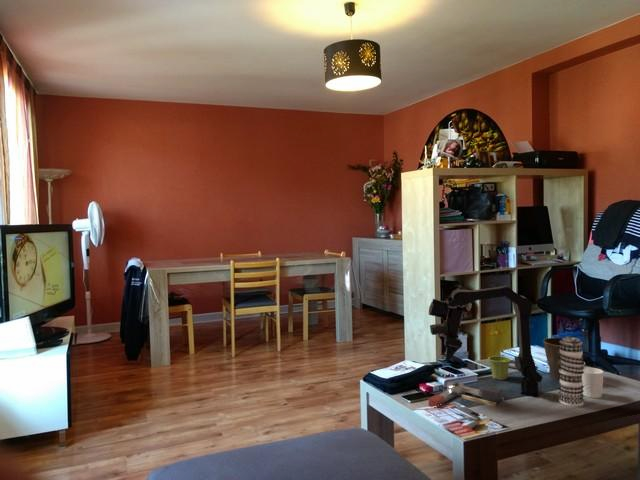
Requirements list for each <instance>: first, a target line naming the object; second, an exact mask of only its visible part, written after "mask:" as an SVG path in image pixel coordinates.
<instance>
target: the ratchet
mask: <svg viewBox="0 0 640 480" xmlns="http://www.w3.org/2000/svg"><path fill="white" fill-rule="evenodd" d="M465 393H467V394H469V393H472V394H471V395H474V394H476V395H475V396H478V395H480V394H481V393H482V389H477V388H473V387H469V386H465V384H464V383H463V382H457V381H452V382H451V381H450V382H448V383H447V384H446V390H445V391H443V392H442V393H439V394H435V395H433V396H432V397H429V398H428V406H429V407H433V406H438V405H440V404H442V405H443V404H445V403H446V402H447V401H449V400H451V399H453V398H454V397H461V395H466V394H465ZM440 406H441V405H440ZM438 407H439V406H438Z"/></svg>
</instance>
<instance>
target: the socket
mask: <svg viewBox="0 0 640 480" xmlns="http://www.w3.org/2000/svg"><path fill="white" fill-rule="evenodd" d="M481 393H482V396H481V399H483V400H487V401H491V402H495V403H496V406H495V407H497V406H498V405H500V404H501V403H503V401H502V397H503V389H502V388H496V387H491V386H485V387H484V388H482V389H481Z"/></svg>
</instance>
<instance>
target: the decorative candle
mask: <svg viewBox="0 0 640 480" xmlns="http://www.w3.org/2000/svg"><path fill="white" fill-rule="evenodd" d="M562 338H563V339H562V340H560V341H559V342H560V351H558V354H559V355H558V358H559V360H558V362H559V364H558V366H559V372H560V379H559V383H558V386H559V387H558V389H559V391H558V399H559V400H558V402H559V403H561V404H562V405H565V406H568V407H576V408H577V407H582V406H583V405H584V401H585V399H584V397H585V396H584V395H583V392H584V391H583V388H584V386H583V381H582V375H583V373H584V372H583V371H582V370H583V369H584V368H585V367H584V366H583V365H585V362H584V361H585V358H584V357H583V344H584V343H583V341H581V340H580V339H579V338H578V337H575V336H564V337H562ZM560 365H561V366H560Z"/></svg>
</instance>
